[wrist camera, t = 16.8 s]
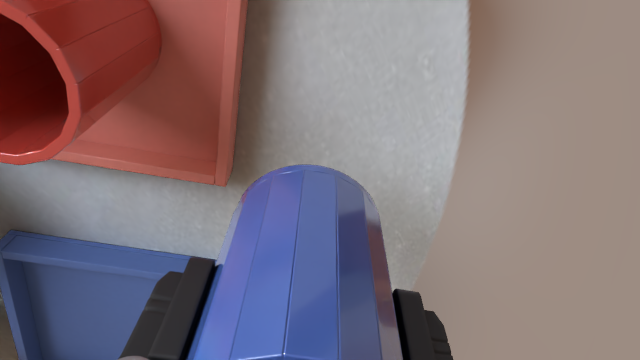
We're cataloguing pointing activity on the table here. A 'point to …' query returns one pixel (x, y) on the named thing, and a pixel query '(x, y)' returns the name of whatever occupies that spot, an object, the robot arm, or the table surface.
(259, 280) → the blue cup
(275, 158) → the table surface
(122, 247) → the blue tray
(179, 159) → the red tray
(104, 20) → the red cup
